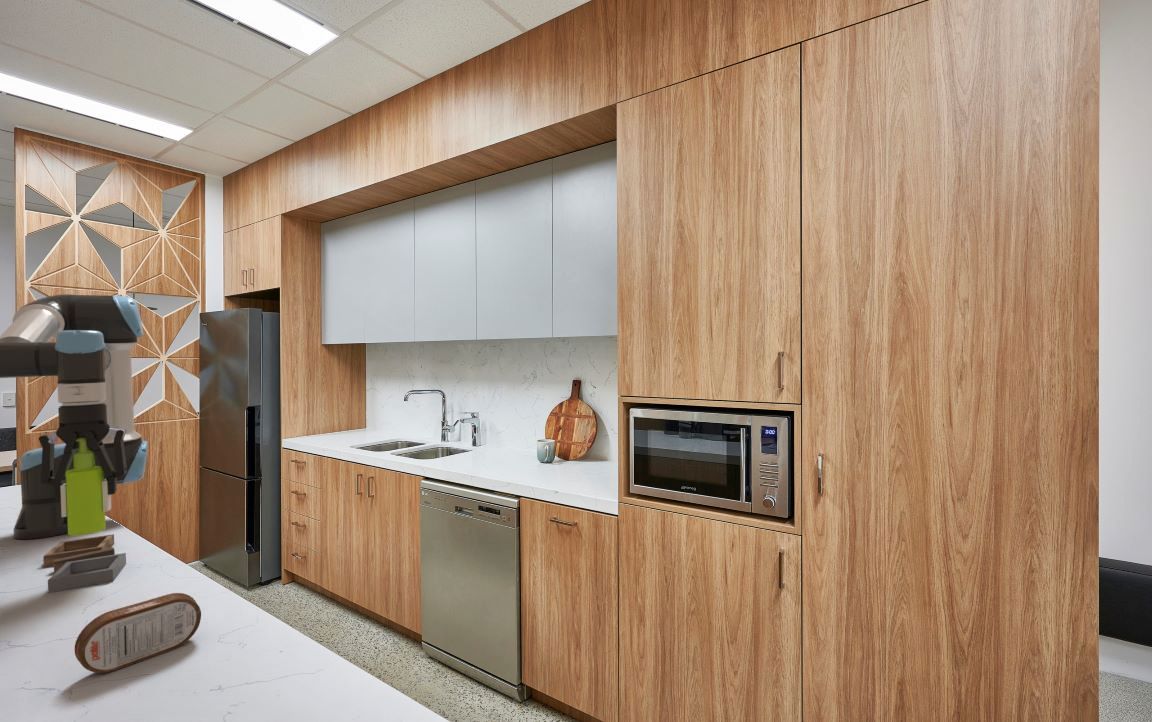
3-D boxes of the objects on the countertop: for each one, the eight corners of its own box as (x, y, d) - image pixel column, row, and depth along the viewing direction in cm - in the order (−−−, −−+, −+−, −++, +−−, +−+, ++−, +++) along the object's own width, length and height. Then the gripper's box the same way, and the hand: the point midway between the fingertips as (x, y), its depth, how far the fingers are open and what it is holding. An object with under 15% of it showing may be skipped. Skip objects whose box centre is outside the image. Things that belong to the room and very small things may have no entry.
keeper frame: (67, 573, 117) (66, 562, 117) (126, 563, 121) (125, 552, 121) (48, 592, 107) (47, 580, 107) (113, 581, 112) (112, 569, 112)
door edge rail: (53, 571, 118) (53, 560, 118) (113, 557, 125) (113, 547, 125) (54, 573, 117) (54, 562, 117) (114, 560, 124) (114, 549, 124)
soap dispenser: (117, 525, 117) (114, 433, 117) (85, 536, 110) (82, 438, 110) (93, 525, 118) (89, 434, 118) (60, 535, 111) (56, 439, 111)
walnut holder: (61, 552, 130) (60, 541, 130) (114, 544, 135) (113, 534, 135) (43, 567, 121) (43, 556, 121) (101, 558, 126) (101, 547, 125)
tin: (198, 634, 89) (196, 583, 89) (204, 640, 87) (202, 588, 87) (75, 678, 77) (72, 620, 77) (79, 686, 75) (76, 627, 75)
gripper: (13, 408, 106) (18, 525, 106) (135, 401, 115) (139, 509, 115) (28, 405, 112) (33, 515, 113) (143, 399, 122) (147, 501, 122)
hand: (87, 512), depth 114 cm, fingers closed on soap dispenser, 6 cm apart
